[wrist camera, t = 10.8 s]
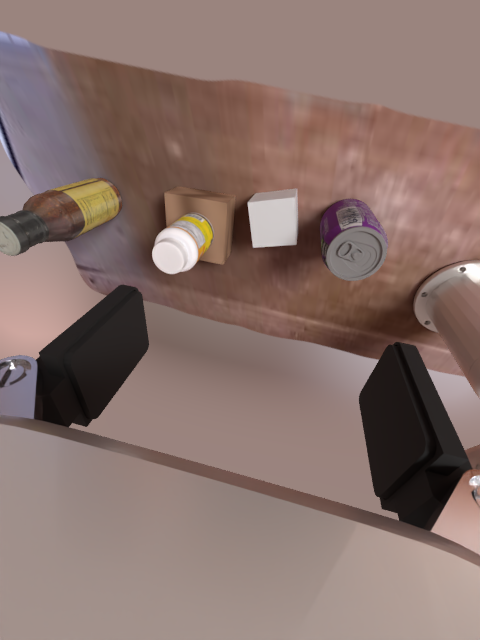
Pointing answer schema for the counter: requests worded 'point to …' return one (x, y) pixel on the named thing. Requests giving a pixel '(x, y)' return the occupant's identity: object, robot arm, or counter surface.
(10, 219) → the sauce bottle
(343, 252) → the beverage can
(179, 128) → the counter surface
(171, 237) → the supplement bottle
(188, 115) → the counter surface
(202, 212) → the brown square block
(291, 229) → the white cube
